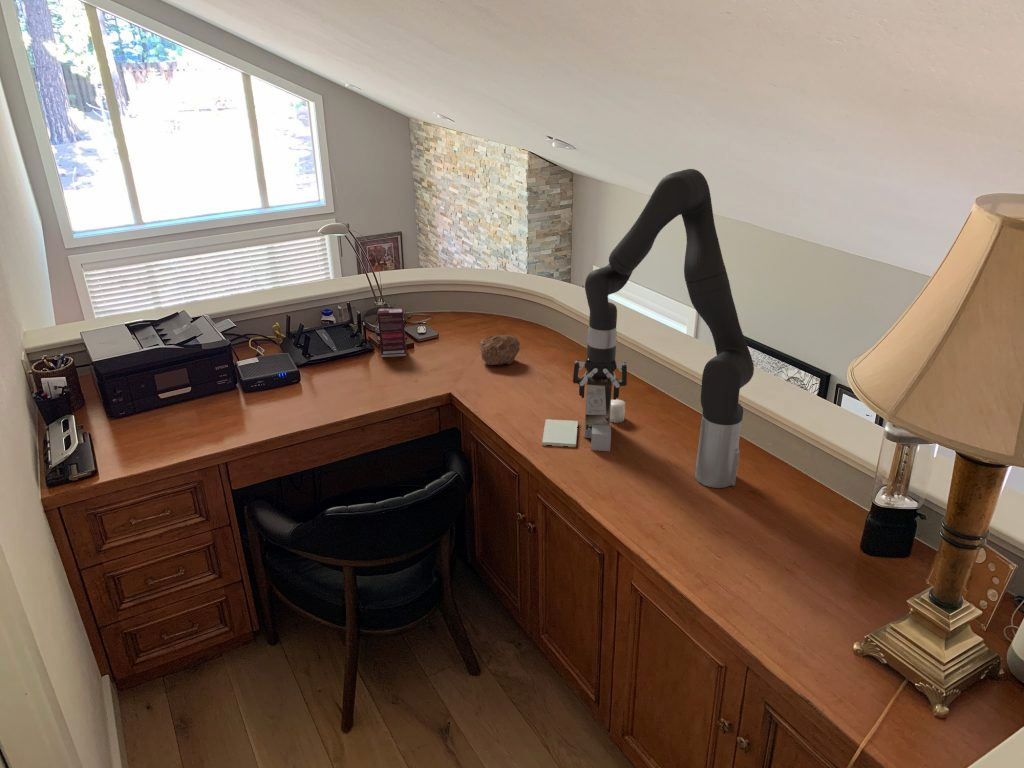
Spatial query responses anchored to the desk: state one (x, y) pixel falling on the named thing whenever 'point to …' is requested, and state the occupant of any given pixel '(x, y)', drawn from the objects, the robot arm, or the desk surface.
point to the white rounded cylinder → (617, 411)
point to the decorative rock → (499, 349)
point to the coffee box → (597, 404)
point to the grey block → (601, 437)
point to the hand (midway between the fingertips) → (598, 397)
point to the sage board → (560, 433)
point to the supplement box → (392, 332)
